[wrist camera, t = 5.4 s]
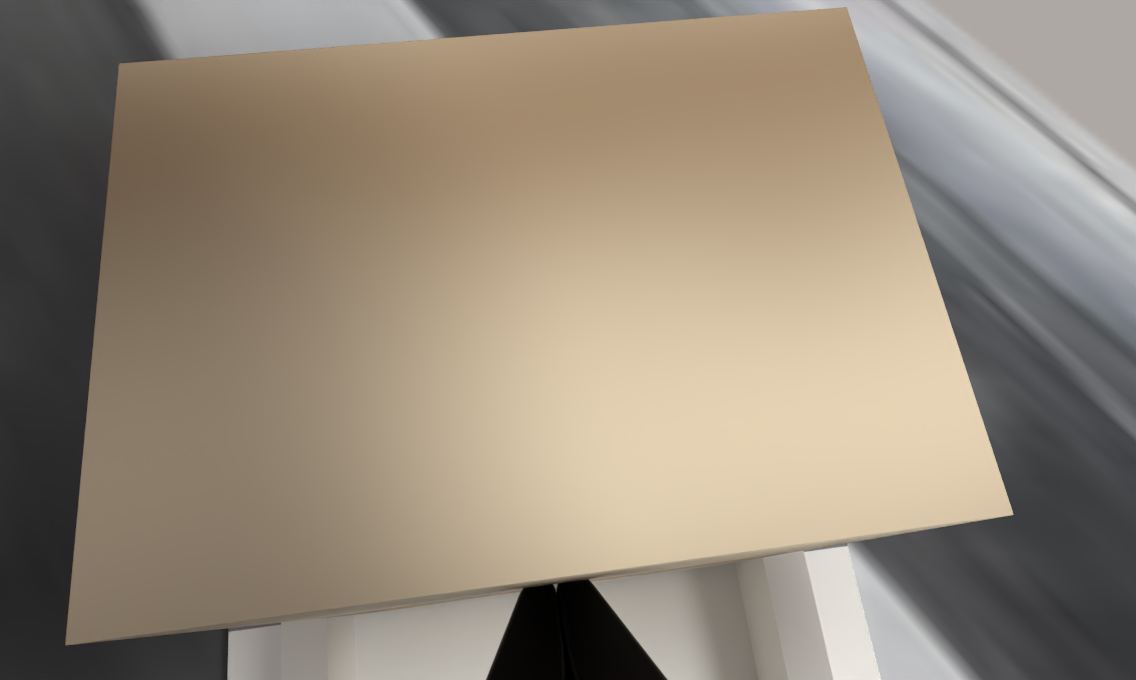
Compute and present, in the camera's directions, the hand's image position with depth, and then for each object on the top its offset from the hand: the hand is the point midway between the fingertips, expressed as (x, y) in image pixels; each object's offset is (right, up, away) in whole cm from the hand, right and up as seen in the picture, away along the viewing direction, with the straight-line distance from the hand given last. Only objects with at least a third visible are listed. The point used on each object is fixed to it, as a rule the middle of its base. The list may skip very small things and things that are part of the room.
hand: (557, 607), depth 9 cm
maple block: (-1, +1, +7) cm, 7 cm away
